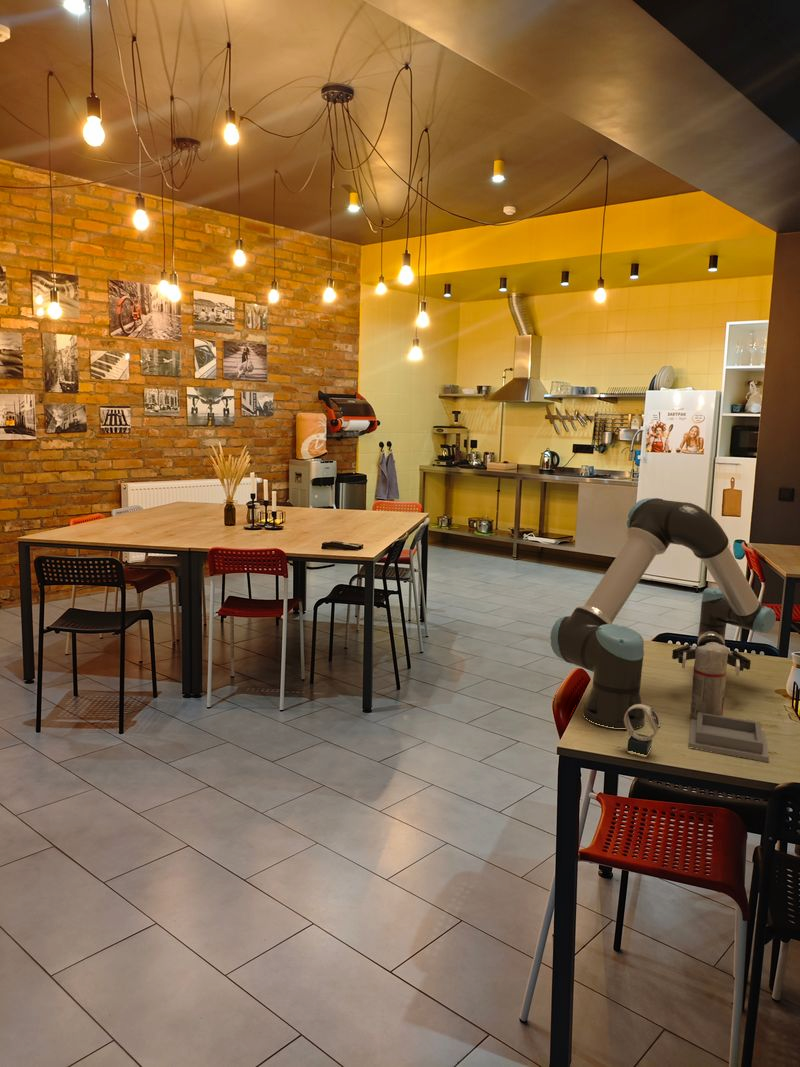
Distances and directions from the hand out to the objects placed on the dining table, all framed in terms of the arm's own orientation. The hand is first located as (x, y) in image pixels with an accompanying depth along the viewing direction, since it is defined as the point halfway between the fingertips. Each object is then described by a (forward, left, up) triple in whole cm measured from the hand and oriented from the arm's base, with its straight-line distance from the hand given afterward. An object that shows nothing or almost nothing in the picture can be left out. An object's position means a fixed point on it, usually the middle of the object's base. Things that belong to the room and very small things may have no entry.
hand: (710, 667), depth 211 cm
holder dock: (+5, -24, -11) cm, 27 cm away
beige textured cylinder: (0, -10, -11) cm, 15 cm away
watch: (-14, -40, -11) cm, 44 cm away
